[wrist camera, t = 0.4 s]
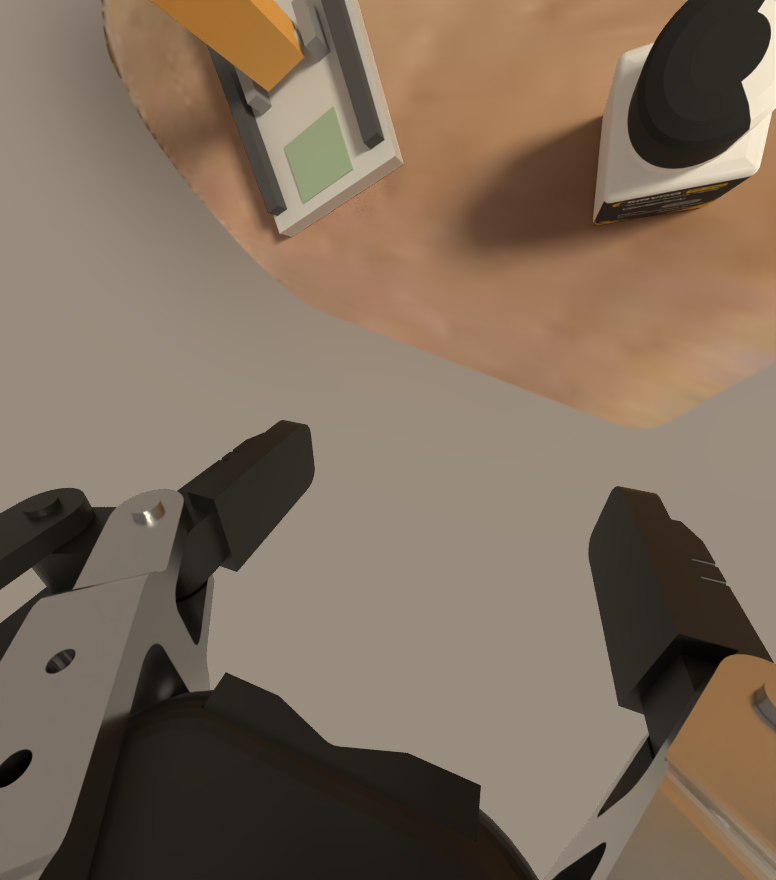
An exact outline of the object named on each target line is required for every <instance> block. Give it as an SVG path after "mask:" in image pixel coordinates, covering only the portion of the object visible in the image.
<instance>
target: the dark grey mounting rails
mask: <svg viewBox="0 0 776 880" xmlns="http://www.w3.org/2000/svg"><path fill="white" fill-rule="evenodd" d="M321 2H322V5H323V9H324V12H325V15H326V19H327V22H328V26H329V29H330V32H331V36H332V39H333V42H334V46H335V49H336V52H337V56H338V59H339V62H340V66H341V69H342V72H343V76H344V79H345V82H346V86H347V89H348V93H349V96H350V99H351V103H352V106H353V109H354V113H355V116H356V119H357V123H358V126H359V129H360V133H361V136H362V139H363V143H364V144H365V145H366V146H368V147H369V148H370V149H373V148H374V147H375V146H377V145H378V144H380V143H381V142H382V141H384V140H385V139H384V136H383V132H382V129H381V125H380V122H379V118H378V115H377V111H376V108H375V104H374V101H373V97H372V94H371V90H370V87H369V83H368V80H367V76H366V73H365V69H364V66H363V62H362V59H361V55H360V52H359V48H358V45H357V41H356V38H355V35H354V31H353V28H352V24H351V21H350V17H349V14H348V10H347V7H346V3H345V0H321ZM207 46H208V45H207ZM208 49H209V52H210V54H211V57H212V60H213V63H214V65H215V68H216V71H217V74H218V76H219V79H220V82H221V84H222V87H223V90H224V93H225V95H226V98H227V101H228V104H229V106H230V109H231V112H232V115H233V117H234V120H235V123H236V126H237V128H238V131H239V134H240V137H241V139H242V142H243V145H244V148H245V150H246V153H247V156H248V159H249V161H250V164H251V167H252V170H253V172H254V175H255V178H256V181H257V183H258V186H259V189H260V192H261V194H262V197H263V200H264V203H265V205H266V208H267V211H268V213H270V214H273V215H276V216H278V215H280V214H281V213H283V212H284V211H286V210H287V207H286V204H285V201H284V198H283V195H282V192H281V190H280V187H279V184H278V181H277V178H276V175H275V173H274V170H273V167H272V164H271V161H270V158H269V156H268V153H267V150H266V147H265V144H264V141H263V139H262V136H261V133H260V130H259V127H258V124H257V121H256V119H255V116H254V113H253V110H252V107H251V106H250V105H249V104H247V101H246V98H245V95H244V92H243V89H242V87H241V84H240V81H239V78H238V75H237V72H236V70H235V67H234V65H233V64H232V63H230V62H229V61H228V60H227V59H225V58H224V57H223V56H221V55H220V54H219V53H217V52H216V51H215V50H214V49H212V48H211V47H210V46H208Z"/></svg>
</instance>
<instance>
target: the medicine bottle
mask: <svg viewBox="0 0 776 880" xmlns="http://www.w3.org/2000/svg"><path fill="white" fill-rule="evenodd" d="M775 108H776V0H688V1H687V2H686V3H685V4H684V5H683V6H682V7H681V8H680V9H679V10H678V11H677V12H676V13H675V14H674V16H673V17H672V18H671V19H670V21H669V22H668V23H667V24H666V25H665V27H664V28H663V30H662V31H661V33H660V34H659V36H658V37H657V39H656V41H655V42H653V43H651V44H648V45H645V46H642V47H639V48H636V49H633V50H630V51H627V52H625V53H624V54H622V56H621V57H620V58H619V60H618V63H617V67H616V70H615V74H614V78H613V81H612V85H611V89H610V93H609V96H608V100H607V104H606V107H605V111H604V115H603V119H602V129H601V140H600V150H599V161H598V171H597V181H596V192H595V202H594V213H593V223H594V224H595V225H601V224H607V223H612V222H618V221H624V220H630V219H636V218H642V217H648V216H653V215H659V214H665V213H671V212H677V211H683V210H689V209H694V208H700V207H705V206H707V205H709V204H710V203H712V202H713V201H715V200H716V199H718V198H719V197H721V196H722V195H724V194H725V193H727V192H728V191H730V190H731V189H733V188H734V187H736V186H737V185H739V184H740V183H742V182H743V181H745V180H746V179H748V178H749V177H751V176H752V175H754V174H755V173H756V172H757V171H758V169H759V167H760V164H761V160H762V155H763V151H764V146H765V142H766V137H767V133H768V128H769V123H770V119H771V114H772V111H773V110H774V109H775Z"/></svg>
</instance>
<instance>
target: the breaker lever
mask: <svg viewBox="0 0 776 880" xmlns="http://www.w3.org/2000/svg"><path fill="white" fill-rule="evenodd" d="M150 1H151V2H153V3H154V4H155V5H157V6H158V7H159V8H161V9H162V10H163V11H164V12H166V13H167V14H168V15H170V16H171V17H172V18H173V19H175V20H176V21H177V22H179V23H180V24H181V25H183V26H184V27H185V28H186V29H188V30H189V31H190V32H192V33H193V34H194V35H195V36H197V37H198V38H199V39H201V40H202V41H203V42H205V43H206V44H207V45H208V46H210V47H211V48H212V49H214V50H215V51H216V52H217V53H219V54H220V55H221V56H223V57H224V58H225V59H227V60H228V61H229V62H230V63H232V64H233V65H234V66H236V67H237V68H238V69H240V70H241V71H242V72H243V73H245V74H246V75H247V76H249V77H250V78H251V79H252V80H254V81H255V82H256V83H258V84H259V85H260V86H262V87H263V88H264V89H265V90H267V91H268V92H269V91H270V90H271V89H272V88H273V87H274V86H275V85H276V84H277V83H278V82H279V81H280V80H281V79H282V78H283V77H284V76H285V75H287V74H288V73H289V72H290V71H291V70H292V69H293V68H294V67H295V66H296V65H297V64H298V63H299V62H300V61H301V60H302V59H303V58H304V57H305V56H304V53H303V50H304V49H305V48H306V47H305V45H304V42H303V39H302V36H301V33H300V31H299V30H298V29H297V28H296V27H295V24H294V22H293V21H292V20H291V19H290V18H289V17H288V16H287V14H286V13H285V12H284V11H283V10H282V9H281V8H280V7H279V6H278V4H277V3H276V2H275V1H274V0H150Z"/></svg>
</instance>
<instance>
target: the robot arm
mask: <svg viewBox="0 0 776 880" xmlns="http://www.w3.org/2000/svg"><path fill="white" fill-rule="evenodd" d="M314 471H315V467H314V458H313V449H312V441H311V432H310V429H309V427H308V425H305V424H301V423H295V422H291V421H285V420H281V421H279V422H278V423H276V424H275V425H274V426H272V427H271V428H270V429H269V430H267V431H266V432H265V433H262V434H259V435H257V436H255V437H252V438H250V439H247V440H245V441H244V442H243V443H241V444H240V445H239V446H237V447H236V448H235V449H233V452H229V453H228V454H226V455H225V456H224V457H222V460H218V461H217V462H216V463H214V464H213V465H212V466H210V467H209V468H208V469H206V470H205V471H203V472H202V473H201V474H200V475H198V476H197V477H195V478H194V479H193V480H191V481H190V482H189V483H188V484H186V485H185V486H183V487H182V488H180V489H179V490H178V491H174V490H169V489H159V490H153V491H148V492H145V493H142V494H139V495H136V496H135V497H132V498H130V499H128V500H127V501H125V502H123V503H122V504H121V505H119V506H118V507H91V505H90V503H89V501H88V500H87V498H86V496H85V495H84V493H83V492H82V491H81V490H79V489H75V488H61V489H55V490H50V491H46V492H44V493H40V494H38V495H35V496H32V497H30V498H28V499H26V500H24V501H22V502H20V503H18V504H16V505H15V506H13V507H11V508H9V509H7V510H6V511H4V512H2V513H0V589H2V588H3V587H5V586H6V585H8V584H9V583H10V582H12V581H13V580H15V579H16V578H17V577H19V576H20V575H21V574H23V573H24V572H26V571H27V570H29V569H30V568H31V567H32V568H33V570H34V571H35V572H36V573H37V575H38V576H39V577H40V579H41V580H42V581H43V582H44V583H45V585H46V586H47V587H46V588H45V589H43V590H42V591H41V592H40V593H38V594H37V595H36V596H35V597H33V598H32V599H31V600H29V601H28V602H27V603H26V604H24V605H23V606H22V607H20V608H19V609H18V610H17V611H16V612H14V613H13V614H12V615H10V616H9V617H8V618H6V619H5V620H4V621H3V622H2V623H0V880H539V879H538V878H537V876H536V875H535V873H534V871H533V870H532V868H531V867H530V865H529V864H528V862H527V861H526V859H525V858H524V857H523V856H522V854H521V853H520V851H519V850H518V849H517V848H516V846H515V845H514V844H513V842H512V841H511V840H510V839H509V837H508V836H507V835H506V834H505V833H504V832H503V831H502V830H501V829H500V828H499V826H497V824H496V823H495V822H494V821H493V820H492V819H491V818H490V817H489V816H487V815H486V814H485V813H484V812H483V811H482V810H481V809H479V803H480V790H481V786H480V785H479V784H476V783H474V782H472V781H469V780H467V779H465V778H463V777H460V776H458V775H456V774H454V773H452V772H449V771H447V770H445V769H442V768H440V767H438V766H436V765H433V764H431V763H429V762H427V761H424V760H422V759H420V758H418V757H415V756H413V755H411V754H408V753H401V752H391V751H381V750H370V749H359V748H349V747H339V746H334V745H332V744H330V743H328V742H327V741H326V740H324V739H323V738H322V737H321V736H320V735H319V734H318V733H317V732H316V731H315V730H314V729H313V728H312V727H311V726H310V725H309V724H308V723H306V722H305V721H304V719H302V718H301V717H300V716H299V715H298V714H297V713H296V712H295V711H294V710H293V709H292V708H291V707H290V706H289V705H288V704H287V703H286V702H284V700H283V699H282V698H281V697H279V696H278V695H276V694H273V693H271V692H269V691H266V690H264V689H262V688H260V687H258V686H255V685H253V684H251V683H249V682H246V681H244V680H242V679H240V678H237V677H235V676H232V675H231V674H228V673H225V674H224V676H223V677H222V679H221V680H220V682H219V683H218V685H217V686H216V688H215V689H214V690H210V682H209V673H208V668H207V655H206V653H207V642H208V634H209V625H210V616H211V607H212V598H213V589H214V578H213V575H212V574H213V573H214V572H215V571H216V569H217V568H218V567H219V566H222V567H224V568H228V569H230V570H233V571H236V572H237V571H238V570H239V569H240V568H241V566H243V564H244V563H245V562H246V561H247V559H248V558H249V557H250V556H251V555H252V554H253V553H254V551H255V550H256V549H257V548H258V547H259V546H260V544H261V543H262V542H263V541H264V539H266V537H267V536H268V535H269V534H270V533H271V532H272V530H273V529H274V528H275V527H276V526H277V524H278V523H279V522H280V521H281V520H282V518H283V517H284V516H285V515H286V514H287V513H288V511H289V510H290V509H291V508H292V507H293V506H294V504H295V503H296V502H297V501H298V500H299V499H300V497H301V496H302V495H303V494H304V493H305V492H306V490H307V489H308V488H309V486H310V485H311V483H312V480H313V477H314ZM589 562H590V566H591V572H592V576H593V582H594V586H595V591H596V596H597V601H598V606H599V611H600V616H601V620H602V626H603V631H604V635H605V641H606V646H607V651H608V656H609V660H610V665H611V670H612V675H613V680H614V685H615V690H616V695H617V700H618V704H619V706H621V707H624V708H627V709H630V710H632V711H635V712H638V713H641V714H644V716H645V720H646V724H647V728H648V731H649V733H648V734H647V735H646V736H645V737H644V738H643V739H642V740H641V742H640V743H639V745H638V746H637V748H636V749H635V751H634V752H633V754H632V755H631V757H630V758H629V760H628V761H627V763H626V764H625V766H624V767H623V769H622V770H621V772H620V773H619V775H618V776H617V778H616V779H615V781H614V782H613V784H612V786H611V787H610V788H609V790H608V791H607V793H606V794H605V796H604V798H603V799H602V800H601V802H600V804H599V805H598V806H597V808H596V809H595V811H594V812H593V814H592V816H591V817H590V818H589V820H588V821H587V822H586V824H585V825H584V826H583V828H582V829H581V830H580V831H579V833H578V834H577V835H576V836H575V837H574V838H573V840H572V841H571V842H570V843H569V845H568V846H567V847H566V848H565V850H564V851H563V852H562V854H561V855H560V856H559V858H558V859H557V861H556V862H555V863H554V865H553V866H552V868H551V869H550V871H549V872H548V874H547V875H546V877H545V878H544V880H776V664H774V662H773V661H772V659H771V657H770V655H769V654H768V652H767V650H766V648H765V647H764V645H763V643H762V642H761V640H760V638H759V637H758V635H757V633H756V631H755V630H754V628H753V626H752V625H751V623H750V621H749V619H748V618H747V616H746V614H745V613H744V611H743V609H742V608H741V606H740V604H739V602H738V601H737V599H736V597H735V596H734V594H733V592H732V590H731V589H730V587H729V586H726V580H725V579H724V577H723V575H722V573H721V572H720V570H719V568H718V567H715V561H714V560H713V558H712V556H711V555H710V553H709V551H708V550H707V548H706V546H705V544H704V543H703V541H702V540H701V539H699V538H698V537H697V536H696V535H695V534H694V533H693V532H692V531H691V530H690V529H688V527H686V526H685V525H684V524H683V523H682V522H681V521H676V520H671V518H670V516H669V515H668V513H667V511H666V509H665V507H664V505H663V503H662V501H661V499H660V497H659V496H658V495H657V494H655V493H650V492H645V491H640V490H635V489H630V488H624V487H619V486H617V487H615V488H614V489H613V490H612V491H611V493H610V495H609V497H608V500H607V502H606V504H605V506H604V508H603V510H602V512H601V515H600V517H599V519H598V521H597V523H596V525H595V527H594V530H593V532H592V534H591V537H590V542H589Z"/></svg>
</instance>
